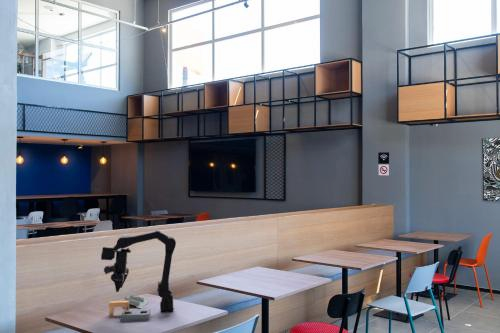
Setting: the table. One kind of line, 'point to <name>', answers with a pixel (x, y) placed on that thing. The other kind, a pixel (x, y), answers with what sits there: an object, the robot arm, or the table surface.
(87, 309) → the table surface
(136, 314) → the slotted plate
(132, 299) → the metal bracket
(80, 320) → the table surface
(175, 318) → the table surface
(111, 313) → the clip
